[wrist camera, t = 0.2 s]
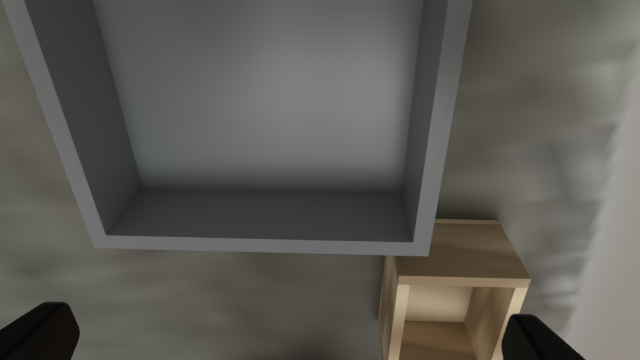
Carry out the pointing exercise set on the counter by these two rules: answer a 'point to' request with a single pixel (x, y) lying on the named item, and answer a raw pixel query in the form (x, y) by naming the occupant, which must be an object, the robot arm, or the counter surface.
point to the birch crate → (452, 294)
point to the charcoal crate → (249, 118)
